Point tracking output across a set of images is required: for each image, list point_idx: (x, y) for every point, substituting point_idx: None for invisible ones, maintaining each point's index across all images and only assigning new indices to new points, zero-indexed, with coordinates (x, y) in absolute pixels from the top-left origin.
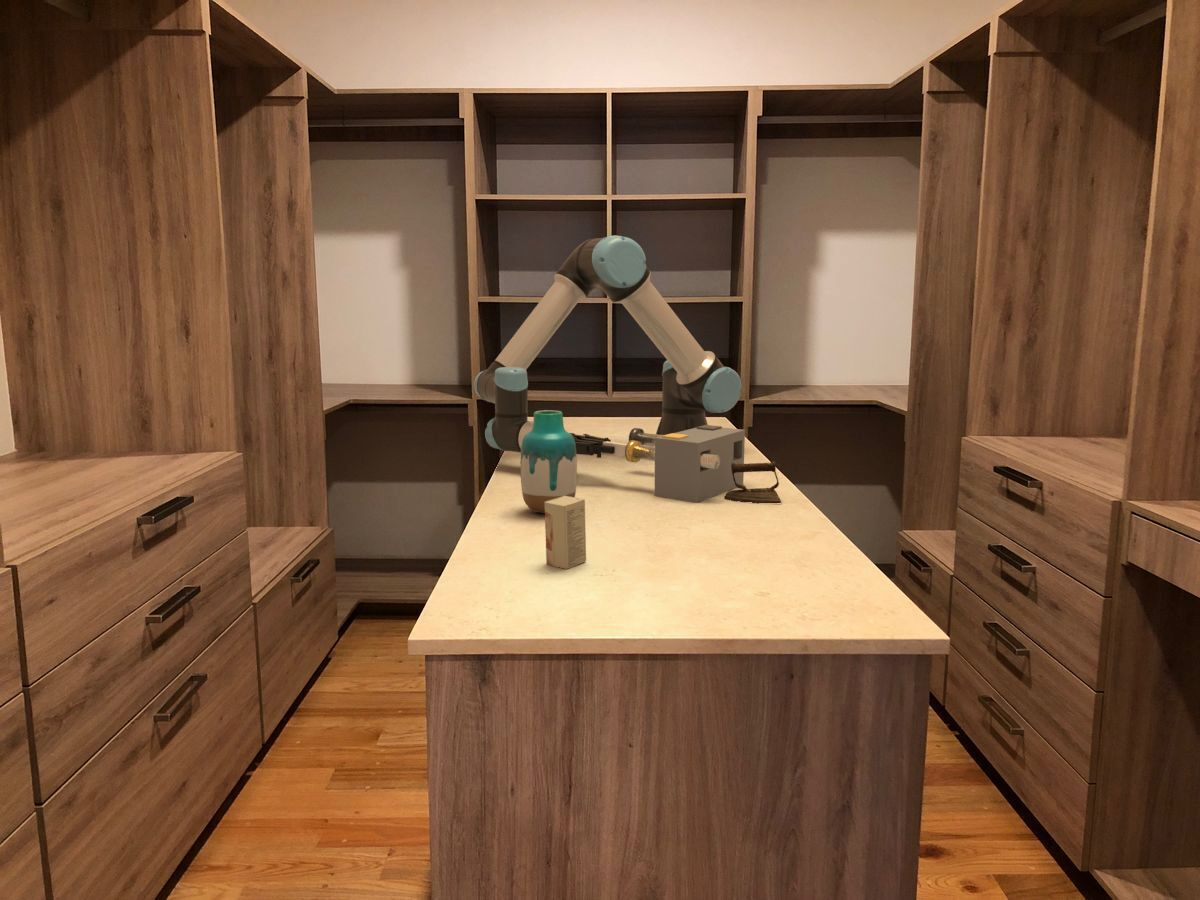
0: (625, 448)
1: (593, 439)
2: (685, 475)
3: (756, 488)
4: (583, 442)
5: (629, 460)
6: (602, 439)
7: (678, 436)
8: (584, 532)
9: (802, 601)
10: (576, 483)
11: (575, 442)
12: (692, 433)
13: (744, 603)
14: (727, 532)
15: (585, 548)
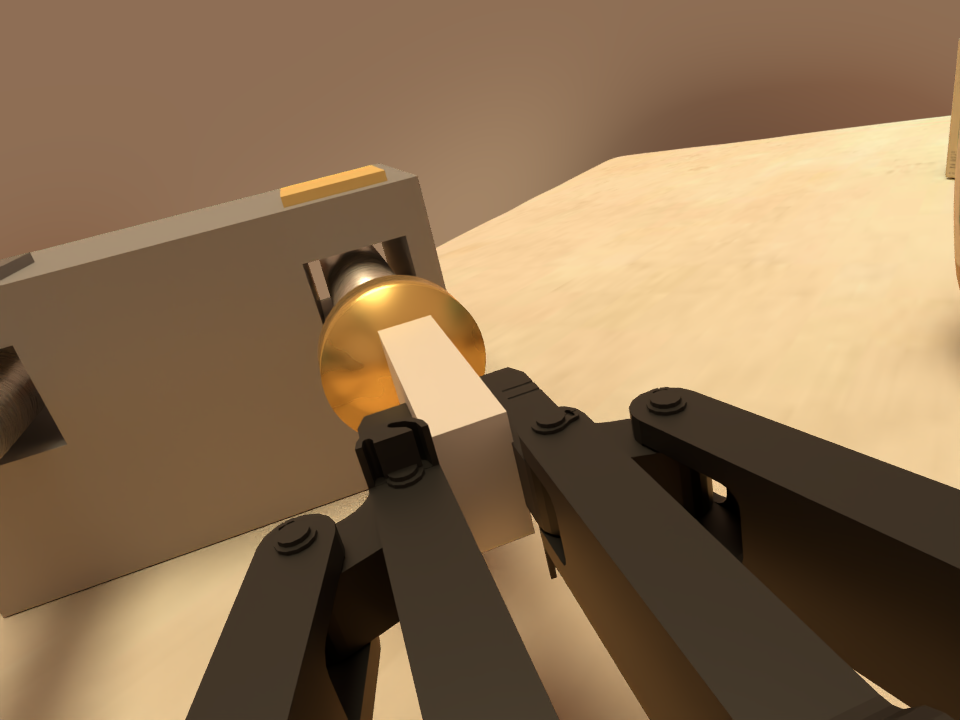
0: (471, 316)
1: (441, 631)
2: None
3: None
4: (745, 469)
5: None
6: (319, 590)
7: (344, 173)
8: (954, 113)
9: (668, 167)
10: (954, 224)
11: (898, 491)
12: (175, 229)
13: (735, 158)
14: (571, 254)
15: (949, 149)
